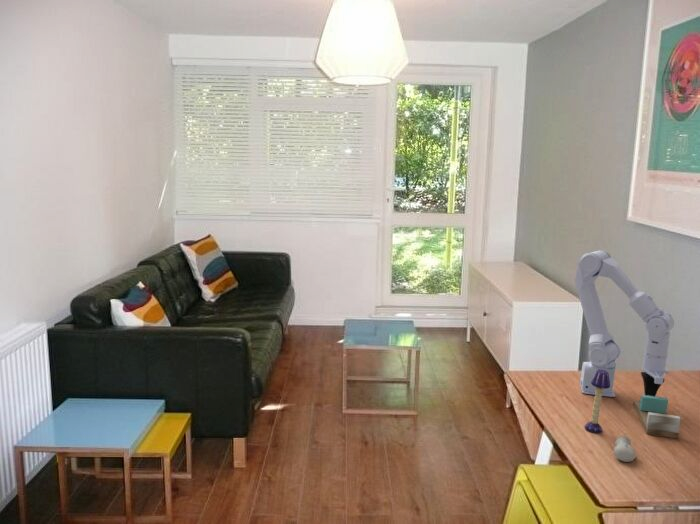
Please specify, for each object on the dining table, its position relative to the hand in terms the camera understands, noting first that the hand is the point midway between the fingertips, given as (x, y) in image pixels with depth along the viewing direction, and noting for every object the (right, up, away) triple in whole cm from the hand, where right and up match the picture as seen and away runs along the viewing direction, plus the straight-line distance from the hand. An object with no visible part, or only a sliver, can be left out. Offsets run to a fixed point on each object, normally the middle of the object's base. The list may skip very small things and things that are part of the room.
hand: (649, 397), depth 172 cm
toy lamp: (-23, -5, -15) cm, 28 cm away
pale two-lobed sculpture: (-21, -8, -28) cm, 36 cm away
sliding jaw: (-2, -2, -7) cm, 7 cm away
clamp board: (-3, -4, -9) cm, 10 cm away
